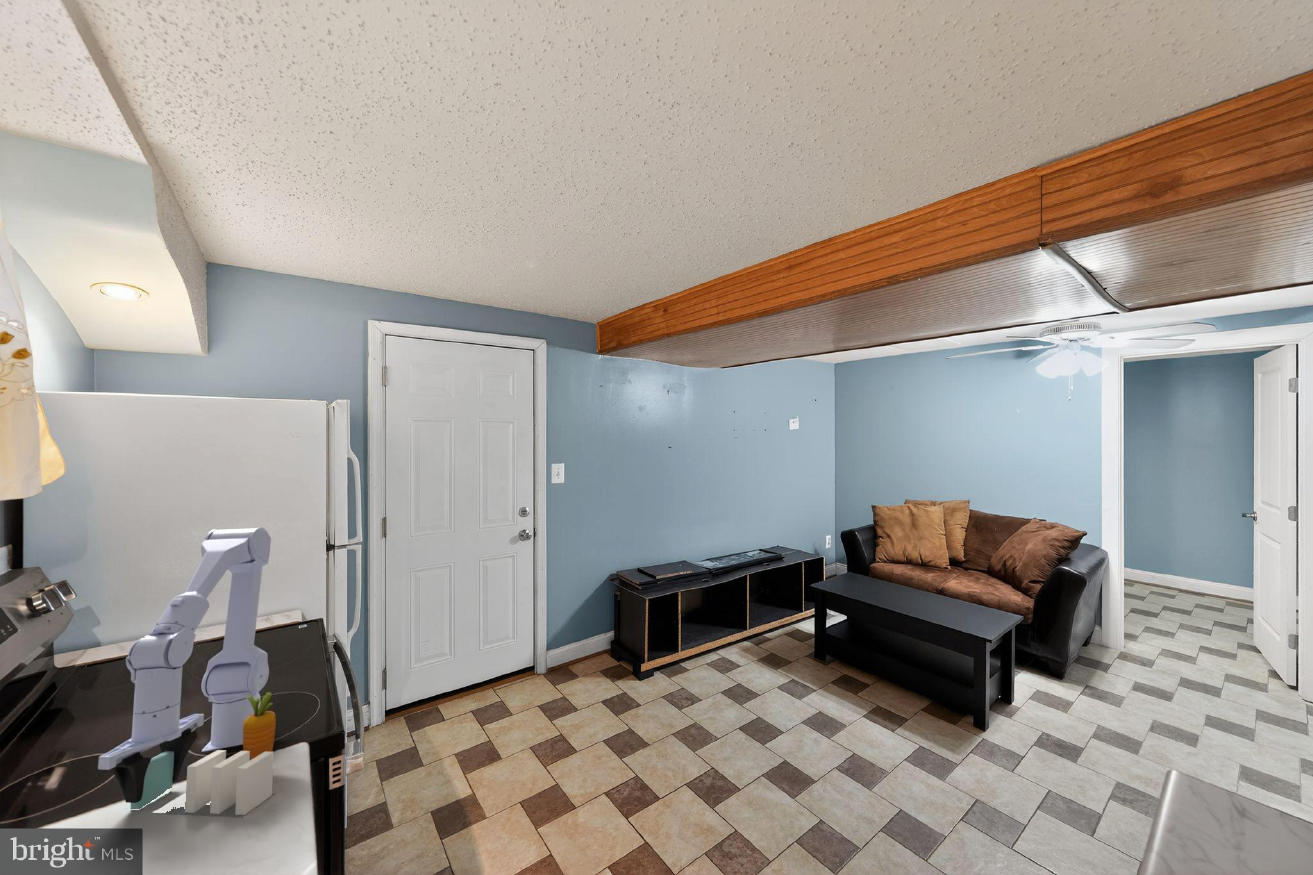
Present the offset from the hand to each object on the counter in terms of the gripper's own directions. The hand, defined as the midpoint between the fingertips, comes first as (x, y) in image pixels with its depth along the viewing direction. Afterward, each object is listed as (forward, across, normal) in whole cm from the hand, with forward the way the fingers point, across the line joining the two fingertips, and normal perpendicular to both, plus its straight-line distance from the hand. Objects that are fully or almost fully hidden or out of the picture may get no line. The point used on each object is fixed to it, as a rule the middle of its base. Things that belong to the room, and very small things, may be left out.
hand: (152, 790), depth 84 cm
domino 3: (+2, 0, -19) cm, 19 cm away
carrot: (+2, +7, -12) cm, 14 cm away
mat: (+2, 0, -12) cm, 12 cm away
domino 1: (+2, 0, -10) cm, 10 cm away
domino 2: (+2, 0, -14) cm, 15 cm away
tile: (+2, 0, 0) cm, 2 cm away
